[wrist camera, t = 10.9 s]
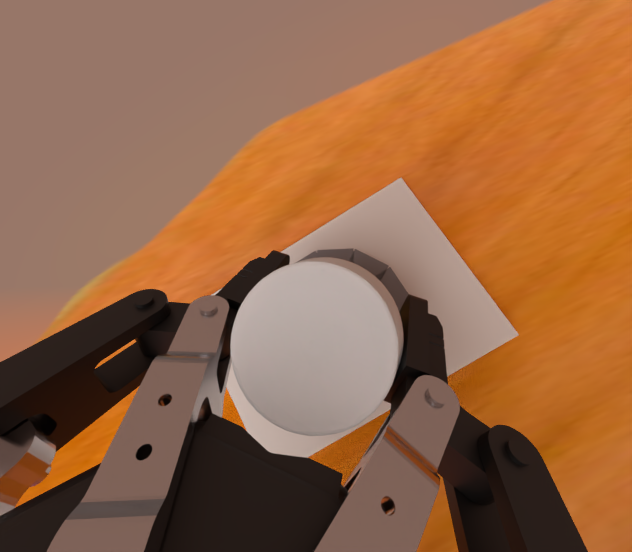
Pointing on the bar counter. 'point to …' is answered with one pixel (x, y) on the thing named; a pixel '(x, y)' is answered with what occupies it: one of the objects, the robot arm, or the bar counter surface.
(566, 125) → the bar counter surface
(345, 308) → the supplement bottle
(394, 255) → the socket plate
